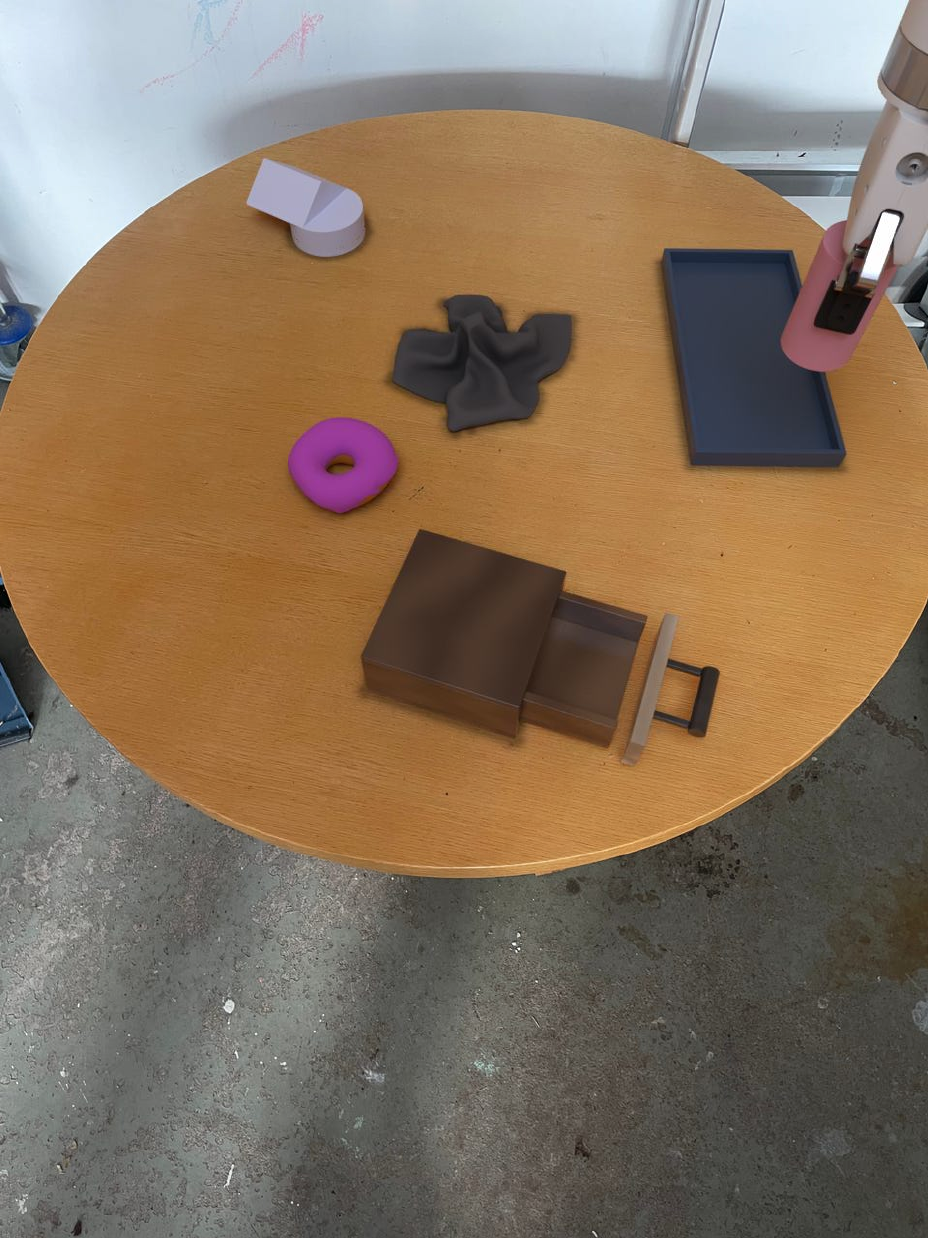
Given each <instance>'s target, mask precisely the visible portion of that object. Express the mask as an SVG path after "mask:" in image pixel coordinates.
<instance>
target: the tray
mask: <svg viewBox="0 0 928 1238" xmlns="http://www.w3.org/2000/svg"><path fill="white" fill-rule="evenodd" d="M661 256H662V257H661V260H660V266H661V274H662V279H663V287H664V293H665V301H666V307H667V313H668V319H669V320H668V321H669V326H670V333H671V340H672V347H673V354H674V359H675V366H676V373H677V381H678V386H679V387H678V388H679V393H680V399H681V407H682V413H683V421H684V426H685V433H686V442H687V447H688V453H689V459H690V465H691V466H713V467H714V466H716V467H717V466H718V467H719V466H720V467H721V466H723V467H789V468H790V467H792V468H793V467H794V468H795V467H797V468H798V467H799V468H840V466H841V464H842V463H843V462H844V459H846V456H847V454H848V453H847V450H846V445H845V442H844V438H843V433H842V431H841V426H840V423H839V420H838V415H837V411H836V408H835V405H834V404H835V403H834V400H833V395H832V393H831V389H830V386H829V382H828V377H827V375H826V374H827V373H826V372H820V371H813V370H809V369H806V368H803V367H801V366H799V365H797V364H795V363H794V362H793V361H791V360H790V359H789V358H788V357H787V356H786V355H785V353H784V351H783V349H782V347H781V336H782V334H783V331H784V329H785V326H786V324H787V322H788V319H789V317H790V314H791V312H792V310H793V307H794V305H795V302H796V300H797V298H798V295H799V293H800V290H801V288H802V286H803V283H802V280H801V275H800V272H799V268H798V265H797V261H796V257H795V254H794V250H793V249H765V248H763V249H762V248H761V249H759V248H758V249H757V248H755V249H754V248H681V247H680V248H677V247H675V248H674V247H671V248H670V247H665V248H664V249H663V252H662V255H661Z"/></svg>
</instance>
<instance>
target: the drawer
mask: <svg viewBox="0 0 928 1238" xmlns="http://www.w3.org/2000/svg"><path fill="white" fill-rule="evenodd" d="M648 619H649V616H648V615H647V614H643V613H641V612H640V613H639V612H636V611H633V610H630V609H626V608H623V607H620V606H615V605H612V604H609V603H605V602H603V601H599V600H595V599H593V598H590V597H589V598H588V597H586V596H582V595H578V594H575V593H572V592H569V591H565V590H563V591H562V590H561V592H560V594H559V597H558V600H557V603H556V606H555V609H554V612H553V615H552V618H551V620H550V623H549V626H548V629H547V632H546V635H545V638H544V641H543V644H542V646H541V649H540V652H539V655H538V658H537V661H536V664H535V667H534V670H533V672H532V675H531V678H530V681H529V684H528V687H527V690H526V693H525V696H524V698H523V701H522V705H521V711H520V718H519V720H521V722H525V723H528V724H531V725H534V726H537V727H541V728H544V729H546V730H549V731H553V732H556V733H559V734H562V735H565V736H568V737H572V738H574V739H576V740H580V741H584V742H587V743H589V744H593V745H595V746H599V747H602V748H604V749H605V748H606V749H609V747H610V745H611V742H612V740H613V738H614V735H615V733H616V730H617V727H618V725H619V720H618V716H619V714H620V711H621V710H620V709H621V707H622V703H623V700H624V696H625V693H626V689H627V685H628V682H629V678H630V675H631V671H632V666H633V665H634V660H635V657H636V653H637V649H638V648H639V647H638V646H639V643H640V640H641V638H642V636H643V632H644V630H645V627H646V624H647V621H648ZM679 620H680V616H679V615H676V614H673V613H672V614H671V613H668V612H665V613H664V614H663V617H662V620H661V622H660V624H659V627H658V630H657V632H656V634H655V636H654V638H653V639H654V640H653V643H652V646H651V650H650V654H649V658H648V662H647V664H646V669H645V671H644V676H643V680H642V682H641V685H640V686H641V687H640V691H639V694H638V697H637V700H636V701H637V702H636V705H635V708H634V712H633V716H632V720H631V723H630V726H629V730H628V734H627V737H626V741H625V744H624V748H623V752H622V756H621V759H620V763H621V764H623V765H627V766H630V767H633V768H635V767H636V765H637V763H638V761H639V760H640V758H641V755H642V753H643V751H644V750H645V748H646V744H647V741H648V737H649V734H650V730H651V727H652V722H653V720H656V721H659V722H661V723H666V724H668V725H671V726H675V727H677V728H680V729H683V730H686V733H687V734H688V735H689V736H692V737H693V738H699V739H702V738H705V737H706V736H707V732H708V728H709V723H710V720H711V719H710V718H711V715H712V710H713V706H714V701H715V697H716V693H717V690H718V689H717V688H718V685H719V679H720V675H721V670H719V669H718V668H717V667H715V666H711V665H707V666H703V667H702V668H701V667H698V666H695V665H693V664H689V663H685V662H681V661H678V660H675V659H672V658H669V657H670V655H671V654H670V653H671V650H672V645H673V642H674V638H675V634H676V632H677V627H678V624H679V623H678V622H679ZM666 669H671V670H674V671H678V672H680V673H683V674H687V675H690V676H694V677H696V678H699V680H698V684H697V687H696V692H695V696H694V700H693V704H692V709H691V713H690V717H689V719H685V718H683V717H679V716H676V715H672V714H670V713H666V712H663V711H660V710H657V709H656V707H657V703H658V699H659V696H660V695H659V694H660V691H661V687H662V685H663V680H664V677H665V674H666V673H665V672H666Z"/></svg>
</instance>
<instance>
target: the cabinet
mask: <svg viewBox="0 0 928 1238" xmlns="http://www.w3.org/2000/svg"><path fill="white" fill-rule="evenodd" d="M566 577H567V571H566V570H562V569H559V568H556V567H552V566H549V565H545V564H542V563H539V562H535V561H532V560H528V559H525V558H522V557H519V556H515V555H512V554H508V553H504V552H502V551H498V550H495V549H491V548H489V547H484V546H481V545H477V544H473V543H470V542H467V541H464V540H460V539H457V538H454V537H450V536H447V535H444V534H440V533H436V532H433V531H429V530H426V529H422V528H419V529H418V531H417V533H416V535H415V537H414V540H413V541H412V543H411V546H410V548H409V550H408V552H407V555H406V557H405V558H404V561H403V563H402V566H401V567H400V570H399V572H398V574H397V576H396V579H395V581H394V583H393V585H392V587H391V590H390V592H389V593H388V596H387V598H386V601H385V602H384V603H383V604H384V605H383V607H382V609H381V611H380V613H379V615H378V617H377V620H376V622H375V624H374V626H373V628H372V631H371V633H370V635H369V637H368V639H367V642H366V644H365V646H364V648H363V649H362V652H361V654H360V661H361V666H362V671H363V676H364V680H365V685H366V688H367V692H371V693H373V694H377V695H380V696H382V697H386V698H389V699H391V700H395V701H398V702H401V703H404V704H407V705H410V706H413V707H416V708H419V709H422V710H425V711H428V712H432V713H434V714H438V715H441V716H443V717H447V718H450V719H452V720H456V721H459V722H461V723H465V724H468V725H471V726H474V727H477V728H480V729H483V730H486V731H489V732H492V733H496V734H498V735H501V736H503V737H508V738H510V739H514V740H515V739H516V737H517V734H518V731H519V728H520V725H521V722H522V721H521V720H519V718H520V711H521V705H522V701H523V698H524V696H525V693H526V690H527V687H528V684H529V681H530V678H531V675H532V672H533V670H534V667H535V664H536V661H537V658H538V655H539V652H540V649H541V646H542V644H543V641H544V638H545V635H546V632H547V629H548V626H549V623H550V620H551V618H552V615H553V612H554V609H555V606H556V603H557V600H558V597H559V594H560V592H561V590H562V591H564V589H565V588H564V587H565V583H566Z"/></svg>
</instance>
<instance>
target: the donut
mask: <svg viewBox="0 0 928 1238" xmlns="http://www.w3.org/2000/svg"><path fill="white" fill-rule="evenodd" d="M338 464H346V465H350V466H353V467H352V468H351V469H350V470H349V471H346V472H342V473H339V474H337V473H336V474H335V473H334V474H333V473H331V472H328V471H327V470H328V469H329V468H330V467H332V466H333V465H338ZM399 464H400V462H399V456H398V455H397V452H396V450H395V447H394V445H393V444H392V442H391V440H390V438H389V437H388V436H387V435H386V434H385V433H384V431H382V430H381V429H380V428H378V427H376V426H375V425H373V424H371V423H369V422H367V421H365V420H361V419H357V418H353V417H346V416H345V417H344V416H338V417H337V416H335V417H330V418H326V419H323V420H321V421H319V422H317V423H315V424H314V425H312V426H311V427H309V428H308V429H307V430H306V431H305V432H304V433H303V434H302V435H301V436H300V437H299V438H297V440H296V441H295V443H294V444H293V445H292V448H291V449H290V451H289V454H288V457H287V469H288V472H289V475H290V476H291V478H292V480H293V482H294V483H295V484H296V486H297V487H298V489H299V490H300V491H301V492H302V493H303V495H304V496H306V497H307V498H308V499H309V500H311V502H313V503H314V504H315V505H317V506H319V507H321V508H322V509H326V510H329V511H333V512H335V513H337V514H343V513H346V512H348V511H350V510H354V509H356V508H359V507H361V506H363V505H366V503H368V502H370V501H372V500H374V498H376V497H378V495H380V494H381V493H382V492H383V491H384V489H385V488H386V487H387V486H388V484H389V482H390V481H391V480H392V478H393V476H394V475H395V473H396V471H397V469H398V466H399Z"/></svg>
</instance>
